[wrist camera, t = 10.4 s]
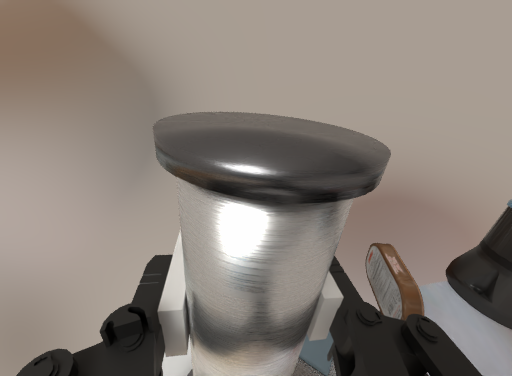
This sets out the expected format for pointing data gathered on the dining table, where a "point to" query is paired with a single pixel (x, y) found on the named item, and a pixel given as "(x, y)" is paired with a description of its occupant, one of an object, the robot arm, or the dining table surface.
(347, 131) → the silver metal cylinder
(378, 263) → the tin
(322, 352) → the mat
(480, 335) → the dining table surface
